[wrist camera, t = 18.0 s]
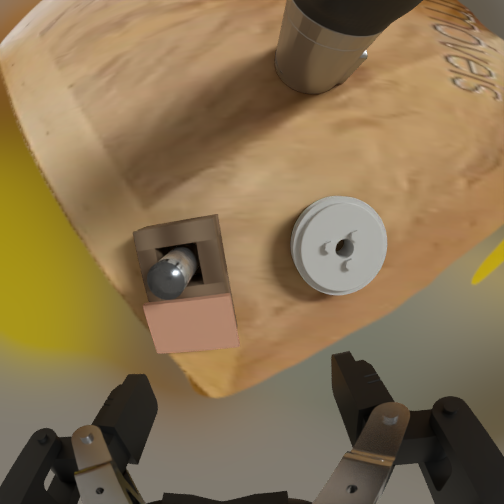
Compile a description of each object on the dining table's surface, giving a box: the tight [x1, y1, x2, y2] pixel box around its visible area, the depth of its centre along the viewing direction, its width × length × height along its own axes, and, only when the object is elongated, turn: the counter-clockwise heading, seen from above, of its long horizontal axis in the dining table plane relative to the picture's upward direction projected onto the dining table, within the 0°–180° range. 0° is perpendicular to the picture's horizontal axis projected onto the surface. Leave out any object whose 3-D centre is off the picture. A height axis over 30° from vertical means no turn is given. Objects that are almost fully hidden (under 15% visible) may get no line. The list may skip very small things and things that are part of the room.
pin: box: [147, 242, 200, 300], centre depth 34 cm, size 4×4×11 cm
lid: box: [291, 196, 387, 295], centre depth 36 cm, size 13×13×5 cm
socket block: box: [133, 214, 237, 326], centre depth 37 cm, size 10×16×5 cm, turn 8°
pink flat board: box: [143, 293, 240, 354], centre depth 35 cm, size 11×7×1 cm, turn 98°
